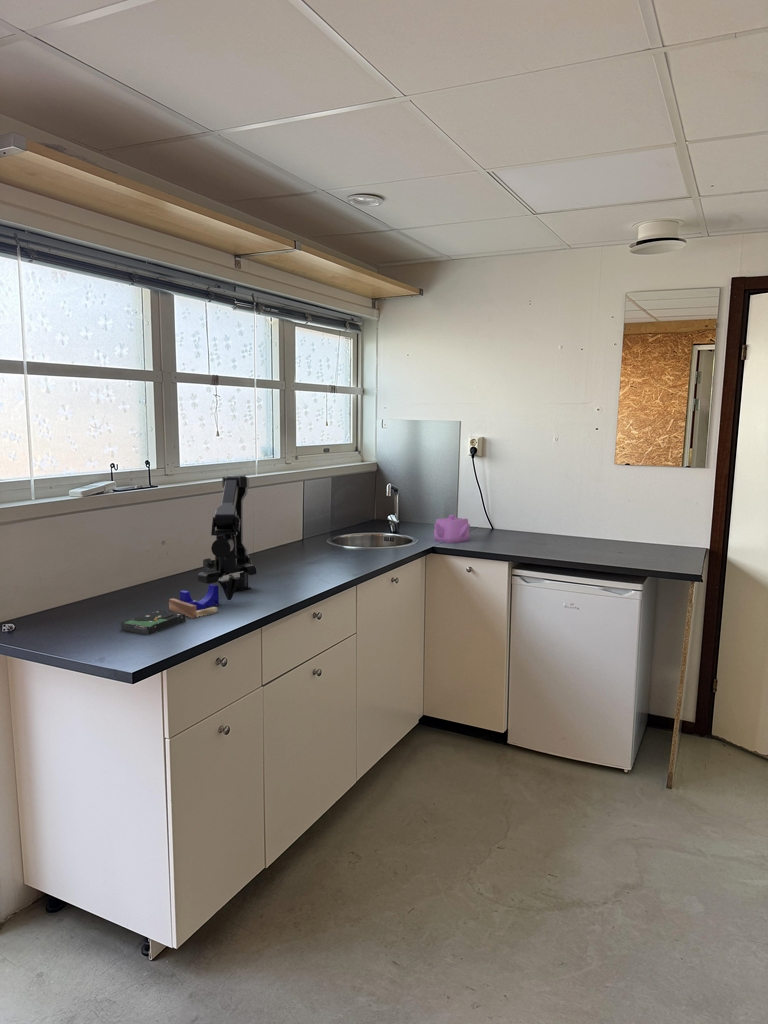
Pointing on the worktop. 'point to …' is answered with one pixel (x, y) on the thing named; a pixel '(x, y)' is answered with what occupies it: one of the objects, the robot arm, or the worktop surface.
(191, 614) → the frame
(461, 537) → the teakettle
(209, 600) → the blue cradle bracket
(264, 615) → the worktop surface
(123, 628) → the disk drive
